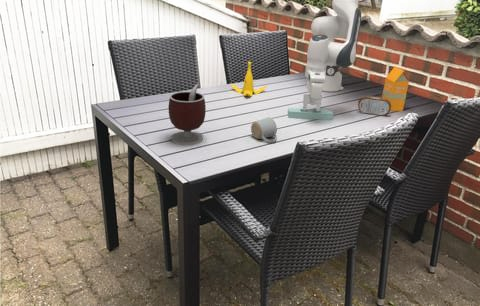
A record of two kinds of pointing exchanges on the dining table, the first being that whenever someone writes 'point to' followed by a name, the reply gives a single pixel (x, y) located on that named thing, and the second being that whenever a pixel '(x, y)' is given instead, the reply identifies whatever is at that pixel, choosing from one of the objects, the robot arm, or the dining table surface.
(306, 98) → the white block
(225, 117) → the dining table surface
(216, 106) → the dining table surface
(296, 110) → the rail
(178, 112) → the mate gourd
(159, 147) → the dining table surface
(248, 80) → the banana peel
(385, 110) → the tin
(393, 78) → the orange juice
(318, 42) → the robot arm
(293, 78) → the dining table surface
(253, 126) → the ceramic mug
